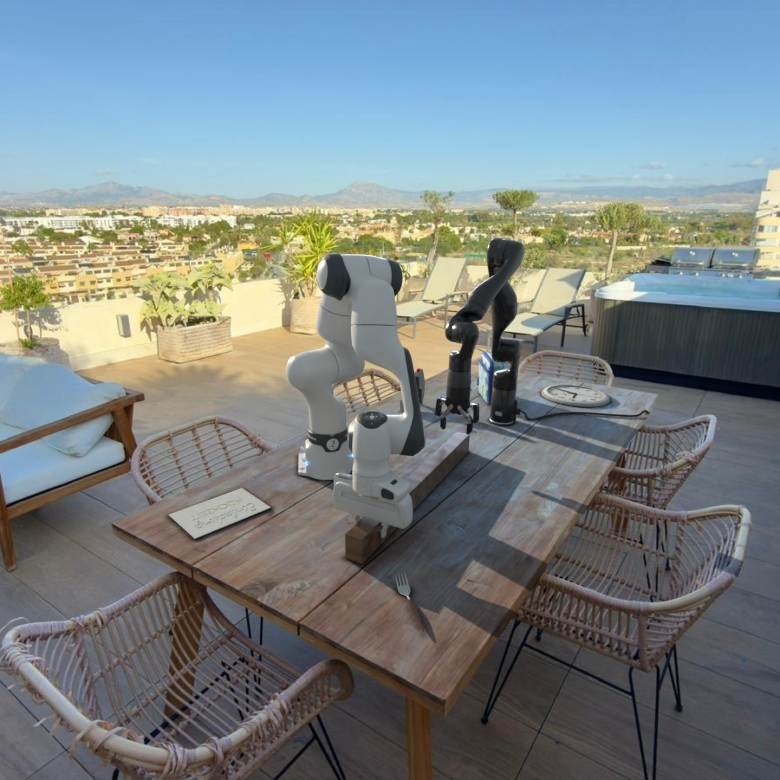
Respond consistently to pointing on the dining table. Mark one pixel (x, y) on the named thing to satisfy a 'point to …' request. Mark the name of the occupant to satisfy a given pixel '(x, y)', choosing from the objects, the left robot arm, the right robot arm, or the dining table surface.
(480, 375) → the lunch box
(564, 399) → the wall clock
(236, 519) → the invitation card
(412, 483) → the post
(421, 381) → the toy gun
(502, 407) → the right robot arm
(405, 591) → the fork
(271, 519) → the dining table surface
